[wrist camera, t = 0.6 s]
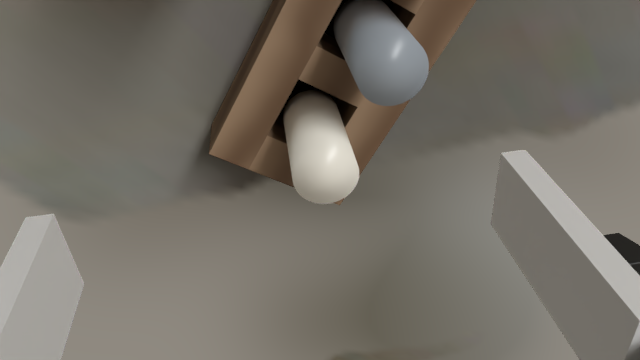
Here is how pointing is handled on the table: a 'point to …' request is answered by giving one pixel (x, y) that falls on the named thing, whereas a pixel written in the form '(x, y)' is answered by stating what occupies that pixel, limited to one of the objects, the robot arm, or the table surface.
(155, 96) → the table surface
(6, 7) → the table surface
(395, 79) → the grey-blue rounded cylinder
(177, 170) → the table surface
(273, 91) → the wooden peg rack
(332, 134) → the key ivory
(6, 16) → the table surface
